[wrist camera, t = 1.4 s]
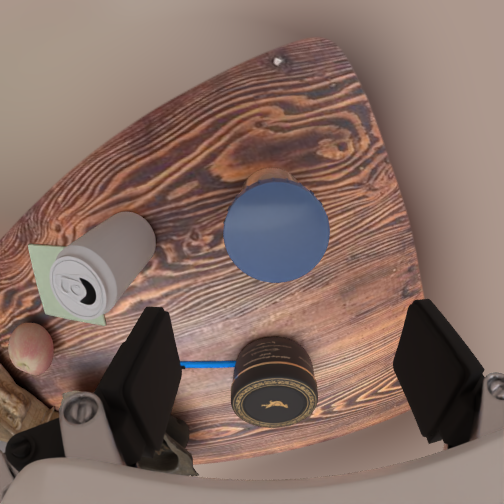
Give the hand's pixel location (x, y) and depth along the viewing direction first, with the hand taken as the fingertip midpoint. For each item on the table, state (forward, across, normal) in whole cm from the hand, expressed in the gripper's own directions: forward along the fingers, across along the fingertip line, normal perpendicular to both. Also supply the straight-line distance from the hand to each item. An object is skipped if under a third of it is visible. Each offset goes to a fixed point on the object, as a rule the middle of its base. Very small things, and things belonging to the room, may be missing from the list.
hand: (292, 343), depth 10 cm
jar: (+22, 0, +20) cm, 30 cm away
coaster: (+21, +27, +9) cm, 36 cm away
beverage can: (+21, +15, +3) cm, 27 cm away
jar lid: (+11, 0, 0) cm, 11 cm away
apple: (+22, +36, +18) cm, 46 cm away
